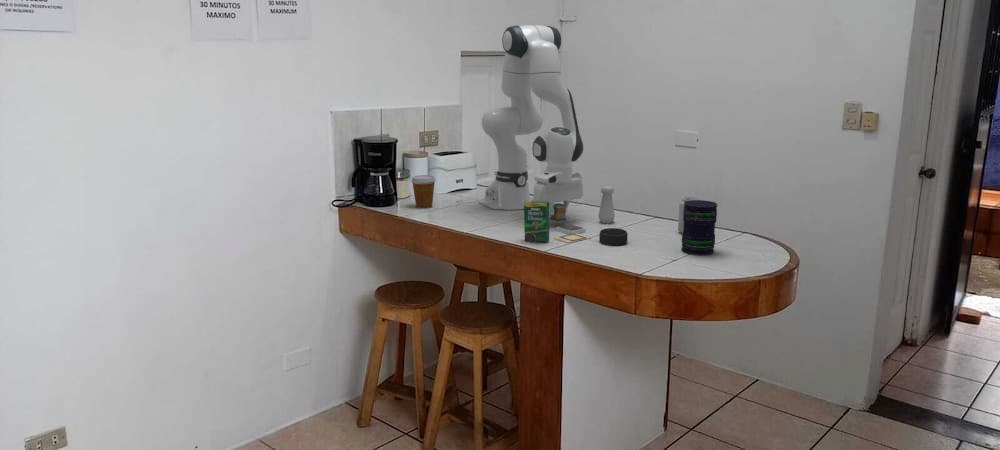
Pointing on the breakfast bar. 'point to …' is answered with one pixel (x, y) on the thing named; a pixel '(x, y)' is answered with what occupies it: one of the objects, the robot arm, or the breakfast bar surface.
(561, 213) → the stamp
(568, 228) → the ink pad
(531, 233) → the coffee box
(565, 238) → the card
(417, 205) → the disposable coffee cup
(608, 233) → the smart speaker
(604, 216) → the salt shaker
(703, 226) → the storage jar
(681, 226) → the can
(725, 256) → the breakfast bar surface
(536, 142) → the robot arm
